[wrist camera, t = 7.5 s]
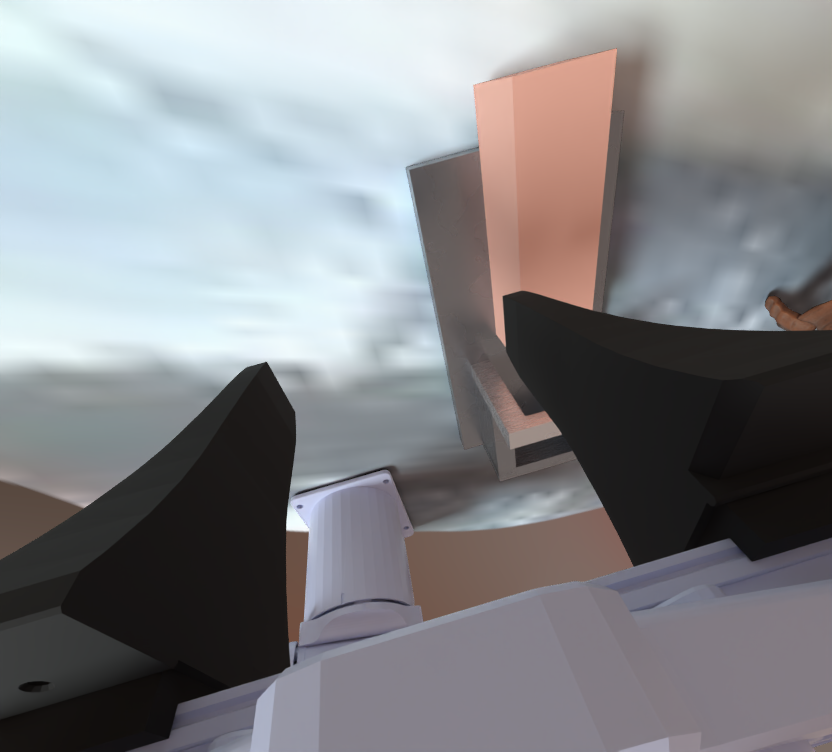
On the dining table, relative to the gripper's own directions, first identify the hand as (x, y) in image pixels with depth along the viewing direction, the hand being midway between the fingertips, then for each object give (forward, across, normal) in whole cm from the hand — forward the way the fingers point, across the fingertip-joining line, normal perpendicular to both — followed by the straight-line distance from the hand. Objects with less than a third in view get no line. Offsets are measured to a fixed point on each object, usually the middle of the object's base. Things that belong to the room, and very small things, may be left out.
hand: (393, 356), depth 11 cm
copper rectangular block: (+9, -8, 0) cm, 12 cm away
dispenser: (+10, -8, +6) cm, 14 cm away
